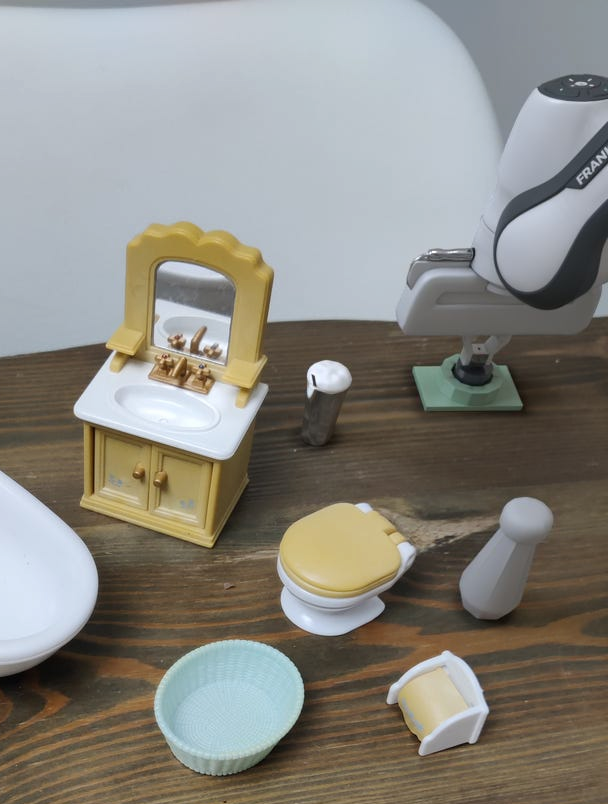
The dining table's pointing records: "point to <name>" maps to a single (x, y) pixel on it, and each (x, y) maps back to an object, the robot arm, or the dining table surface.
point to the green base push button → (465, 389)
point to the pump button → (473, 373)
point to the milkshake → (324, 400)
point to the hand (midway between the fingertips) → (474, 361)
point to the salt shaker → (505, 560)
